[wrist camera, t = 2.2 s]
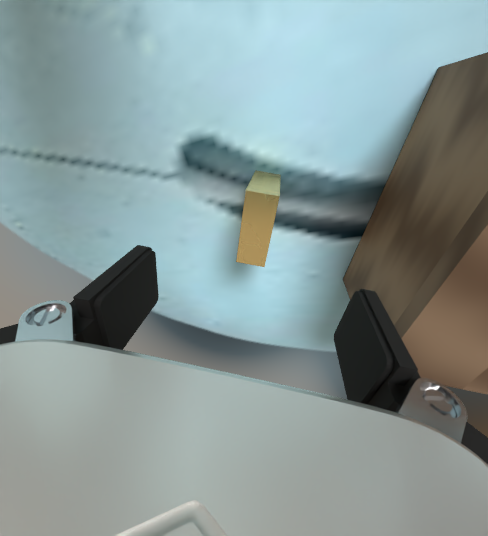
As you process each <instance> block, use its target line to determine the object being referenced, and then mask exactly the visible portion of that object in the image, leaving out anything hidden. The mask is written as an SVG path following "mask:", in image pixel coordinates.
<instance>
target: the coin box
mask: <svg viewBox="0 0 488 536" xmlns="http://www.w3.org/2000/svg"><path fill="white" fill-rule="evenodd" d="M343 281H344V284H345V287H346V289H347V292H348V295H349V298H350V300H351V298H352V296H353V294H354V292H355V291H359V290H360V289H366V290H371V291H375V292H376V293H377V295H378V297H379V299H380V300H381V302H382V304H383V306H384V308H385V310H386V311H387V313H388V315H389V317H390V319H391V321H392V322H393V324H394V326H395V328H396V330H397V332H398V333H399V335H400V337H401V339H402V341H403V343H404V344H405V346H406V348H407V350H408V352H409V354H410V356H411V357H412V359H413V361H414V363H415V365H416V367H417V368H418V373H419V375H420V377H421V378H429V379H432V380H435V381H437V382H439V383H441V384H442V385H444V386H449V387H455V388H459V389H464V390H469V391H474V392H479V393H484V394H488V52H487V53H484V54H481V55H478V56H474V57H471V58H468V59H465V60H461V61H458V62H455V63H452V64H448V65H445V66H442V67H439V68H438V70H437V72H436V75H435V77H434V79H433V81H432V83H431V86H430V88H429V90H428V92H427V94H426V97H425V99H424V101H423V103H422V106H421V108H420V110H419V112H418V114H417V117H416V119H415V121H414V123H413V125H412V128H411V130H410V132H409V134H408V136H407V139H406V141H405V143H404V145H403V147H402V150H401V152H400V154H399V156H398V159H397V161H396V163H395V165H394V167H393V170H392V172H391V174H390V176H389V178H388V181H387V183H386V185H385V187H384V189H383V192H382V194H381V196H380V198H379V201H378V203H377V205H376V207H375V209H374V212H373V214H372V216H371V218H370V220H369V223H368V225H367V227H366V229H365V231H364V234H363V236H362V238H361V240H360V243H359V245H358V247H357V249H356V251H355V254H354V256H353V258H352V260H351V262H350V265H349V267H348V269H347V271H346V273H345V276H344V278H343Z"/></svg>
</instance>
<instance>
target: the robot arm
mask: <svg viewBox="0 0 488 536" xmlns="http://www.w3.org/2000/svg"><path fill="white" fill-rule="evenodd" d="M157 301H158V284H157V270H156V257H155V252H154V251H152V249H151V248H150V247H145V246H140V245H137V246H136V247H135V248H133V249H132V250H131V251H130V252H128V253H127V254H126V255H125V256H124V257H122V258H121V259H120V260H119V261H117V262H116V263H115V264H114V265H112V266H111V267H110V268H109V269H108V270H106V271H105V272H104V273H103V274H101V275H100V276H99V277H98V278H96V279H95V280H94V281H93V282H91V283H90V284H89V285H88V286H87V287H85V288H84V289H83V290H82V291H81V292H79V293H78V294H77V295H75V296H74V300H73V301H72V302H71V303H67V302H64V301H57V300H54V301H48V302H44V303H40V304H38V305H35V306H33V307H31V308H30V309H28V310H27V311H25V312H24V313H23V314H22V315H21V318H20V320H19V324H16V325H12V326H9V327H4V328H1V329H0V536H488V438H487V437H486V436H485V435H483V434H482V433H481V432H479V431H478V430H477V429H475V428H474V427H473V426H472V425H470V424H469V423H468V422H466V421H467V411H466V409H465V406H464V405H463V404H462V402H461V400H460V399H459V398H458V397H457V396H456V395H455V394H454V393H453V392H452V391H451V390H450V389H448V388H447V387H446V386H444V385H442V384H441V383H439V382H437V381H435V380H432V379H429V378H421V377H420V375H419V373H418V368H417V367H416V365H415V363H414V361H413V359H412V357H411V356H410V354H409V352H408V350H407V348H406V346H405V344H404V343H403V341H402V339H401V337H400V335H399V333H398V332H397V330H396V328H395V326H394V324H393V322H392V321H391V319H390V317H389V315H388V313H387V311H386V310H385V308H384V306H383V304H382V302H381V300H380V299H379V297H378V295H377V293H376V292H375V291H371V290H366V289H360V290H359V291H355V292H354V294H353V296H352V298H351V300H350V302H349V304H348V306H347V308H346V310H345V312H344V314H343V317H342V319H341V321H340V323H339V325H338V327H337V329H336V331H335V334H334V342H335V346H336V351H337V355H338V359H339V364H340V368H341V373H342V377H343V381H344V386H345V390H346V394H347V399H348V400H346V399H342V398H338V397H334V396H330V395H325V394H321V393H316V392H312V391H307V390H303V389H299V388H294V387H290V386H286V385H281V384H277V383H272V382H268V381H263V380H259V379H254V378H250V377H245V376H241V375H236V374H232V373H227V372H223V371H218V370H213V369H209V368H205V367H200V366H195V365H191V364H186V363H181V362H177V361H172V360H167V359H163V358H158V357H154V356H149V355H144V354H139V353H135V352H130V351H125V350H123V348H124V347H125V346H126V344H127V343H128V341H129V340H130V339H131V337H132V336H133V335H134V333H135V332H136V330H137V329H138V328H139V326H140V325H141V324H142V322H143V321H144V319H145V318H146V317H147V315H148V314H149V313H150V311H151V310H152V308H153V307H154V306H155V304H156V303H157Z"/></svg>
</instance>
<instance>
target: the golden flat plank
mask: <svg viewBox="0 0 488 536" xmlns="http://www.w3.org/2000/svg"><path fill="white" fill-rule="evenodd" d="M279 196H280V175H279V174H273V173H267V172H261V171H255V173H254V175H253V177H252V179H251V181H250V183H249V185H248V187H247V189H246V193H245V201H244V208H243V215H242V223H241V230H240V238H239V245H238V253H237V260H236V262H240V263H246V264H251V265H256V266H262V267H264V266H265V261H266V257H267V252H268V248H269V243H270V238H271V234H272V229H273V224H274V220H275V215H276V210H277V206H278V201H279Z"/></svg>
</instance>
